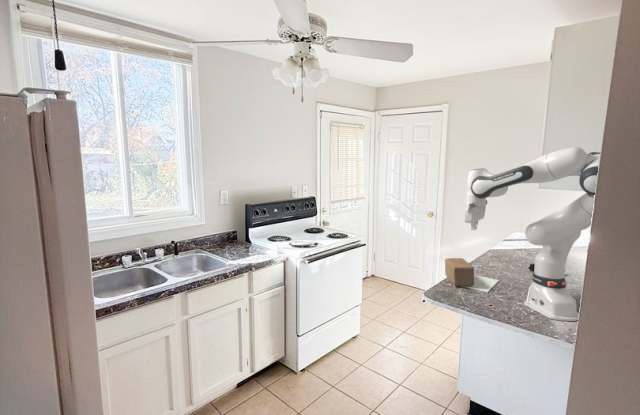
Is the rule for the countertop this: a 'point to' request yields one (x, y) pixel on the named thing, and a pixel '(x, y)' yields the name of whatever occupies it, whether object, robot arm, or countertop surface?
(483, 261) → the countertop surface
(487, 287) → the mat
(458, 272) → the wooden block
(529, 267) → the can opener
